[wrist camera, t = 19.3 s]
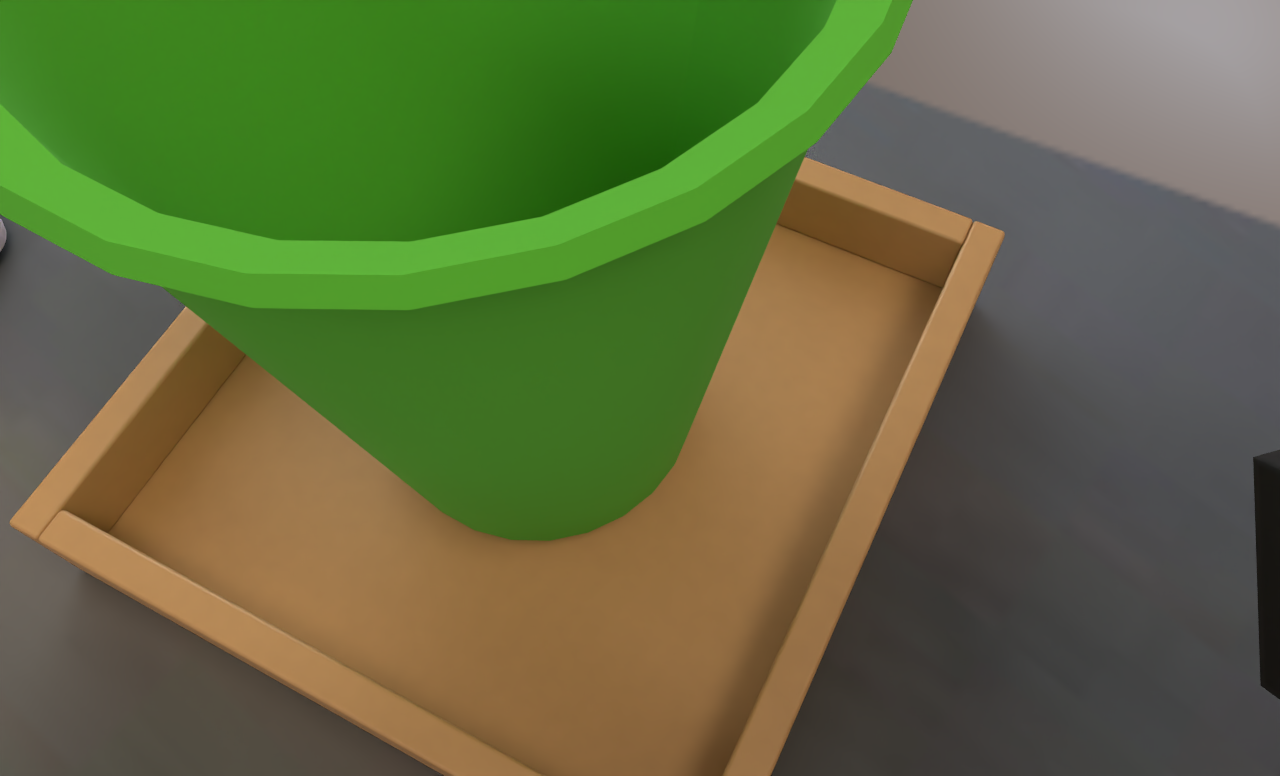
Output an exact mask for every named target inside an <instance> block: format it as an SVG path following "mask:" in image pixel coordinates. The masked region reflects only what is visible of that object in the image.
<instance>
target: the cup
mask: <svg viewBox="0 0 1280 776" xmlns="http://www.w3.org/2000/svg"><path fill="white" fill-rule="evenodd" d="M912 1H913V0H0V214H1V215H2V216H4V217H6V218H8V219H10V220H11V221H13V222H15V223H17V224H19V225H21V226H23V227H24V228H26V229H28V230H30V231H32V232H34V233H36V234H38V235H39V236H41V237H43V238H45V239H47V240H49V241H51V242H52V243H54V244H56V245H58V246H60V247H62V248H64V249H66V250H67V251H69V252H71V253H73V254H75V255H77V256H79V257H80V258H82V259H84V260H86V261H88V262H90V263H92V264H94V265H95V266H97V267H99V268H101V269H103V270H105V271H107V272H108V273H110V274H112V275H116V276H120V277H124V278H129V279H133V280H137V281H141V282H145V283H150V284H154V285H158V286H161V287H163V288H164V289H165V290H166V291H168V292H169V293H170V294H171V295H173V296H174V297H175V298H176V299H178V300H179V301H180V302H181V303H183V304H184V305H185V306H186V307H188V308H189V309H190V310H191V311H193V312H194V313H195V314H196V315H197V316H199V317H200V318H201V319H202V320H204V321H205V322H206V323H207V324H209V325H210V326H211V327H212V328H214V329H215V330H216V331H217V332H219V333H220V334H221V335H222V336H224V337H225V338H226V339H227V340H229V341H230V342H231V343H232V344H234V345H235V346H236V347H237V348H239V349H240V350H241V351H242V352H244V353H245V354H246V355H247V356H248V357H250V358H251V359H252V360H253V361H255V362H256V363H257V364H258V365H260V366H261V367H262V368H263V369H265V370H266V371H267V372H268V373H270V374H271V375H272V376H273V377H275V378H276V379H277V380H278V381H280V382H281V383H282V384H283V385H285V386H286V387H287V388H288V389H290V390H291V391H292V392H293V393H295V394H296V395H297V396H298V397H299V398H301V399H302V400H303V401H304V402H306V403H307V404H308V405H309V406H311V407H312V408H313V409H314V410H316V411H317V412H318V413H319V414H321V415H322V416H323V417H324V418H326V419H327V420H328V421H329V422H331V423H332V424H333V425H334V426H336V427H337V428H338V429H339V430H341V431H342V432H343V433H344V434H346V435H347V436H348V437H349V438H350V439H352V440H353V441H354V442H355V443H357V444H358V445H359V446H360V447H362V448H363V449H364V450H365V451H367V452H368V453H369V454H370V455H372V456H373V457H374V458H375V459H377V460H378V461H379V462H380V463H382V464H383V465H384V466H385V467H387V468H388V469H389V470H390V471H392V472H393V473H394V474H395V475H397V476H398V477H399V478H400V479H401V480H403V481H404V482H405V483H406V484H408V485H409V486H410V487H411V488H413V489H414V490H415V491H416V492H418V493H419V494H420V495H421V496H423V497H424V498H425V499H426V500H428V501H429V502H430V503H431V504H433V505H434V506H435V507H436V508H438V509H439V510H440V511H441V512H443V513H444V514H446V515H448V516H450V517H451V518H453V519H455V520H457V521H459V522H461V523H462V524H464V525H466V526H468V527H470V528H471V529H473V530H475V531H479V532H483V533H487V534H491V535H494V536H498V537H502V538H506V539H510V540H539V541H551V540H556V539H560V538H565V537H570V536H575V535H579V534H584V533H588V532H591V531H593V530H595V529H597V528H599V527H601V526H603V525H606V524H608V523H610V522H612V521H614V520H616V519H618V518H621V517H623V516H624V515H625V514H627V513H628V512H629V511H630V510H632V509H633V508H634V507H636V506H637V505H638V504H639V503H641V502H642V501H643V500H644V499H646V498H647V497H648V496H649V495H651V494H652V493H653V492H654V491H655V489H656V488H657V487H658V485H659V484H660V483H661V482H662V480H663V479H664V478H665V476H666V475H667V474H668V473H669V471H670V470H671V469H672V467H673V466H674V465H675V463H676V461H677V458H678V456H679V454H680V451H681V449H682V447H683V444H684V442H685V440H686V437H687V435H688V433H689V431H690V428H691V426H692V423H693V421H694V419H695V416H696V414H697V411H698V409H699V407H700V404H701V402H702V400H703V397H704V395H705V392H706V390H707V388H708V385H709V383H710V381H711V378H712V376H713V373H714V371H715V369H716V366H717V364H718V361H719V359H720V357H721V354H722V352H723V350H724V347H725V345H726V342H727V340H728V338H729V335H730V333H731V331H732V328H733V326H734V323H735V321H736V319H737V316H738V314H739V312H740V309H741V307H742V304H743V302H744V300H745V297H746V295H747V292H748V290H749V288H750V285H751V283H752V281H753V278H754V276H755V273H756V271H757V269H758V266H759V264H760V262H761V259H762V257H763V254H764V252H765V250H766V247H767V245H768V243H769V240H770V238H771V235H772V233H773V231H774V228H775V226H776V223H777V221H778V219H779V216H780V214H781V212H782V209H783V207H784V204H785V202H786V200H787V197H788V195H789V193H790V190H791V188H792V185H793V183H794V181H795V178H796V176H797V174H798V171H799V169H800V166H801V164H802V162H803V159H804V157H805V154H806V152H807V150H808V148H810V147H811V146H812V145H814V144H815V143H816V142H817V141H818V140H819V139H820V138H821V136H822V135H823V134H824V133H825V132H826V130H827V129H828V128H829V127H830V126H831V124H832V123H833V122H834V121H835V120H836V118H837V117H838V116H839V115H840V114H841V112H842V111H843V110H844V109H845V108H846V106H847V105H848V104H849V103H850V102H851V100H852V99H853V98H854V97H855V96H856V94H857V93H858V92H859V91H860V90H861V88H862V87H863V86H864V85H865V84H866V82H867V81H868V80H869V79H870V78H871V77H872V75H873V74H874V73H875V72H876V71H877V69H878V68H879V67H880V66H881V65H882V63H883V62H884V61H885V60H886V59H887V57H888V56H889V55H890V54H891V52H892V50H893V47H894V45H895V42H896V40H897V38H898V35H899V33H900V30H901V28H902V25H903V23H904V21H905V18H906V16H907V13H908V11H909V8H910V6H911V3H912Z"/></svg>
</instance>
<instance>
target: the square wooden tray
mask: <svg viewBox="0 0 1280 776" xmlns="http://www.w3.org/2000/svg"><path fill="white" fill-rule="evenodd" d="M1004 237H1005V234H1004V232H1003V231H1001V230H999V229H996V228H993V227H991V226H988V225H985V224H983V223H980V222H974V223H973V224H972V219H970V218H967V217H965V216H962V215H959V214H957V213H954V212H951V211H949V210H946V209H943V208H941V207H938V206H935V205H932V204H930V203H927V202H924V201H922V200H919V199H916V198H914V197H911V196H908V195H906V194H903V193H900V192H898V191H895V190H892V189H889V188H887V187H884V186H881V185H879V184H876V183H873V182H871V181H868V180H865V179H863V178H860V177H857V176H854V175H852V174H849V173H846V172H844V171H841V170H838V169H836V168H833V167H830V166H828V165H825V164H822V163H820V162H817V161H814V160H811V159H809V158H806V157H804V159H803V162H802V164H801V166H800V169H799V171H798V174H797V176H796V178H795V181H794V183H793V185H792V188H791V190H790V193H789V195H788V197H787V200H786V202H785V204H784V207H783V209H782V212H781V214H780V216H779V219H778V221H777V223H776V226H775V228H774V231H773V233H772V235H771V238H770V240H769V243H768V245H767V247H766V250H765V252H764V254H763V257H762V259H761V262H760V264H759V266H758V269H757V271H756V273H755V276H754V278H753V281H752V283H751V285H750V288H749V290H748V292H747V295H746V297H745V300H744V302H743V304H742V307H741V309H740V312H739V314H738V316H737V319H736V321H735V323H734V326H733V328H732V331H731V333H730V335H729V338H728V340H727V342H726V345H725V347H724V350H723V352H722V354H721V357H720V359H719V361H718V364H717V366H716V369H715V371H714V373H713V376H712V378H711V381H710V383H709V385H708V388H707V390H706V392H705V395H704V397H703V400H702V402H701V404H700V407H699V409H698V411H697V414H696V416H695V419H694V421H693V423H692V426H691V428H690V431H689V433H688V435H687V437H686V440H685V442H684V444H683V447H682V449H681V451H680V454H679V456H678V458H677V461H676V463H675V465H674V466H673V467H672V469H671V470H670V471H669V473H668V474H667V475H666V476H665V478H664V479H663V480H662V482H661V483H660V484H659V485H658V487H657V488H656V489H655V491H654V492H653V493H652V494H651V495H649V496H648V497H647V498H646V499H644V500H643V501H642V502H641V503H639V504H638V505H637V506H636V507H634V508H633V509H632V510H630V511H629V512H628V513H627V514H625V515H624V516H623V517H621V518H618V519H616V520H614V521H612V522H610V523H608V524H606V525H603V526H601V527H599V528H597V529H595V530H593V531H591V532H588V533H584V534H579V535H575V536H570V537H565V538H560V539H556V540H551V541H539V540H510V539H506V538H502V537H498V536H494V535H491V534H487V533H483V532H479V531H475V530H473V529H471V528H470V527H468V526H466V525H464V524H462V523H461V522H459V521H457V520H455V519H453V518H451V517H450V516H448V515H446V514H444V513H443V512H441V511H440V510H439V509H438V508H436V507H435V506H434V505H433V504H431V503H430V502H429V501H428V500H426V499H425V498H424V497H423V496H421V495H420V494H419V493H418V492H416V491H415V490H414V489H413V488H411V487H410V486H409V485H408V484H406V483H405V482H404V481H403V480H401V479H400V478H399V477H398V476H397V475H395V474H394V473H393V472H392V471H390V470H389V469H388V468H387V467H385V466H384V465H383V464H382V463H380V462H379V461H378V460H377V459H375V458H374V457H373V456H372V455H370V454H369V453H368V452H367V451H365V450H364V449H363V448H362V447H360V446H359V445H358V444H357V443H355V442H354V441H353V440H352V439H350V438H349V437H348V436H347V435H346V434H344V433H343V432H342V431H341V430H339V429H338V428H337V427H336V426H334V425H333V424H332V423H331V422H329V421H328V420H327V419H326V418H324V417H323V416H322V415H321V414H319V413H318V412H317V411H316V410H314V409H313V408H312V407H311V406H309V405H308V404H307V403H306V402H304V401H303V400H302V399H301V398H299V397H298V396H297V395H296V394H295V393H293V392H292V391H291V390H290V389H288V388H287V387H286V386H285V385H283V384H282V383H281V382H280V381H278V380H277V379H276V378H275V377H273V376H272V375H271V374H270V373H268V372H267V371H266V370H265V369H263V368H262V367H261V366H260V365H258V364H257V363H256V362H255V361H253V360H252V359H251V358H250V357H248V356H247V355H246V354H245V353H244V352H242V351H241V350H240V349H239V348H237V347H236V346H235V345H234V344H232V343H231V342H230V341H229V340H227V339H226V338H225V337H224V336H222V335H221V334H220V333H219V332H217V331H216V330H215V329H214V328H212V327H211V326H210V325H209V324H207V323H206V322H205V321H204V320H202V319H201V318H200V317H199V316H197V315H196V314H195V313H194V312H193V311H191V310H190V309H189V308H188V307H185V308H184V310H183V311H182V312H181V313H180V314H179V316H178V317H177V318H176V319H175V320H174V322H173V323H172V324H171V325H170V327H169V328H168V329H167V330H166V331H165V333H164V334H163V335H162V336H161V338H160V339H159V340H158V341H157V342H156V344H155V345H154V346H153V347H152V348H151V350H150V351H149V352H148V353H147V355H146V356H145V357H144V358H143V359H142V361H141V362H140V363H139V364H138V366H137V367H136V368H135V369H134V370H133V372H132V373H131V374H130V375H129V376H128V378H127V379H126V380H125V381H124V383H123V384H122V385H121V386H120V387H119V389H118V390H117V391H116V392H115V394H114V395H113V396H112V397H111V398H110V400H109V401H108V402H107V403H106V404H105V406H104V407H103V408H102V409H101V411H100V412H99V413H98V414H97V415H96V417H95V418H94V419H93V420H92V422H91V423H90V424H89V425H88V426H87V428H86V429H85V430H84V431H83V432H82V434H81V435H80V436H79V437H78V439H77V440H76V441H75V442H74V443H73V445H72V446H71V447H70V448H69V450H68V451H67V452H66V453H65V454H64V456H63V457H62V458H61V459H60V460H59V462H58V463H57V464H56V465H55V467H54V468H53V469H52V470H51V471H50V473H49V474H48V475H47V476H46V478H45V479H44V480H43V481H42V482H41V484H40V485H39V486H38V487H37V488H36V490H35V491H34V492H33V493H32V495H31V496H30V497H29V498H28V499H27V501H26V502H25V503H24V504H23V506H22V507H21V508H20V509H19V510H18V512H17V513H16V514H15V515H14V516H13V518H12V519H11V520H10V525H11V526H12V527H13V528H15V529H16V530H18V531H20V532H21V533H23V534H24V535H26V536H28V537H29V538H31V539H32V540H34V541H36V542H37V543H39V544H41V545H42V546H44V547H45V548H47V549H49V550H50V551H52V552H53V553H55V554H57V555H59V556H60V557H62V558H63V559H65V560H66V561H68V562H70V563H71V564H73V565H74V566H76V567H78V568H79V569H81V570H83V571H85V572H86V573H88V574H90V575H92V576H93V577H95V578H97V579H99V580H100V581H102V582H104V583H106V584H107V585H109V586H111V587H113V588H115V589H116V590H118V591H120V592H122V593H123V594H125V595H127V596H129V597H130V598H132V599H134V600H136V601H137V602H139V603H141V604H143V605H144V606H146V607H148V608H150V609H152V610H153V611H155V612H157V613H159V614H160V615H162V616H164V617H166V618H167V619H169V620H171V621H173V622H174V623H176V624H178V625H180V626H181V627H183V628H185V629H187V630H189V631H190V632H192V633H194V634H196V635H197V636H199V637H201V638H203V639H204V640H206V641H208V642H210V643H211V644H213V645H215V646H217V647H219V648H220V649H222V650H224V651H226V652H227V653H229V654H231V655H233V656H234V657H236V658H238V659H240V660H241V661H243V662H245V663H247V664H248V665H250V666H252V667H254V668H256V669H257V670H259V671H261V672H263V673H264V674H266V675H268V676H270V677H271V678H273V679H275V680H277V681H278V682H280V683H282V684H284V685H285V686H287V687H289V688H291V689H293V690H294V691H296V692H298V693H300V694H301V695H303V696H305V697H307V698H308V699H310V700H312V701H314V702H315V703H317V704H319V705H321V706H322V707H324V708H326V709H328V710H330V711H331V712H333V713H335V714H337V715H338V716H340V717H342V718H344V719H345V720H347V721H349V722H351V723H352V724H354V725H356V726H358V727H359V728H361V729H363V730H365V731H367V732H368V733H370V734H372V735H374V736H375V737H377V738H379V739H381V740H382V741H384V742H386V743H388V744H389V745H391V746H393V747H395V748H396V749H398V750H400V751H402V752H404V753H405V754H407V755H409V756H411V757H412V758H414V759H416V760H418V761H419V762H421V763H423V764H425V765H426V766H428V767H430V768H432V769H433V770H435V771H437V772H439V773H441V774H442V775H444V776H771V774H772V772H773V770H774V767H775V765H776V763H777V760H778V758H779V756H780V754H781V751H782V749H783V747H784V744H785V742H786V740H787V737H788V735H789V733H790V730H791V728H792V726H793V724H794V721H795V719H796V717H797V714H798V712H799V710H800V707H801V705H802V703H803V700H804V698H805V696H806V694H807V691H808V689H809V687H810V684H811V682H812V680H813V677H814V675H815V673H816V670H817V668H818V666H819V664H820V661H821V659H822V657H823V654H824V652H825V650H826V647H827V645H828V643H829V640H830V638H831V636H832V634H833V631H834V629H835V627H836V624H837V622H838V620H839V617H840V615H841V613H842V610H843V608H844V606H845V604H846V601H847V599H848V597H849V594H850V592H851V590H852V587H853V585H854V583H855V580H856V578H857V576H858V574H859V571H860V569H861V567H862V564H863V562H864V560H865V557H866V555H867V553H868V550H869V548H870V546H871V544H872V541H873V539H874V537H875V534H876V532H877V530H878V527H879V525H880V523H881V520H882V518H883V516H884V514H885V511H886V509H887V507H888V504H889V502H890V500H891V497H892V495H893V493H894V490H895V488H896V486H897V484H898V481H899V479H900V477H901V474H902V472H903V470H904V467H905V465H906V463H907V460H908V458H909V456H910V454H911V451H912V449H913V447H914V444H915V442H916V440H917V437H918V435H919V433H920V430H921V428H922V426H923V424H924V421H925V419H926V417H927V414H928V412H929V410H930V407H931V405H932V403H933V400H934V398H935V396H936V394H937V391H938V389H939V387H940V384H941V382H942V380H943V377H944V375H945V373H946V370H947V368H948V366H949V364H950V361H951V359H952V357H953V354H954V352H955V350H956V347H957V345H958V343H959V340H960V338H961V336H962V334H963V331H964V329H965V327H966V324H967V322H968V320H969V317H970V315H971V313H972V311H973V308H974V306H975V304H976V301H977V299H978V297H979V294H980V292H981V290H982V287H983V285H984V283H985V281H986V278H987V276H988V274H989V271H990V269H991V267H992V264H993V262H994V260H995V257H996V255H997V253H998V251H999V248H1000V246H1001V244H1002V241H1003V239H1004Z"/></svg>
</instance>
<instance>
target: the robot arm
mask: <svg viewBox="0 0 1280 776" xmlns="http://www.w3.org/2000/svg"><path fill="white" fill-rule="evenodd" d="M1253 462H1254V493H1255V525H1256V556H1257V587H1258V618H1259V649H1260V681H1261V686H1262V687H1264V688H1265V689H1266V690H1268V691H1269V692H1270V693H1272V694H1273V695H1274V696H1276V697H1277V698H1278V699H1280V450H1278V451H1274V452H1270V453H1267V454H1263V455H1260V456H1256V457H1253Z"/></svg>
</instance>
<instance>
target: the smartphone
mask: <svg viewBox="0 0 1280 776" xmlns="http://www.w3.org/2000/svg"><path fill="white" fill-rule="evenodd" d="M6 237H7V234H6V229H5V227H4V224H3V222H2V220H1V218H0V252H1V250H2V248H3V247H4V244H5V242H6Z"/></svg>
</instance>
